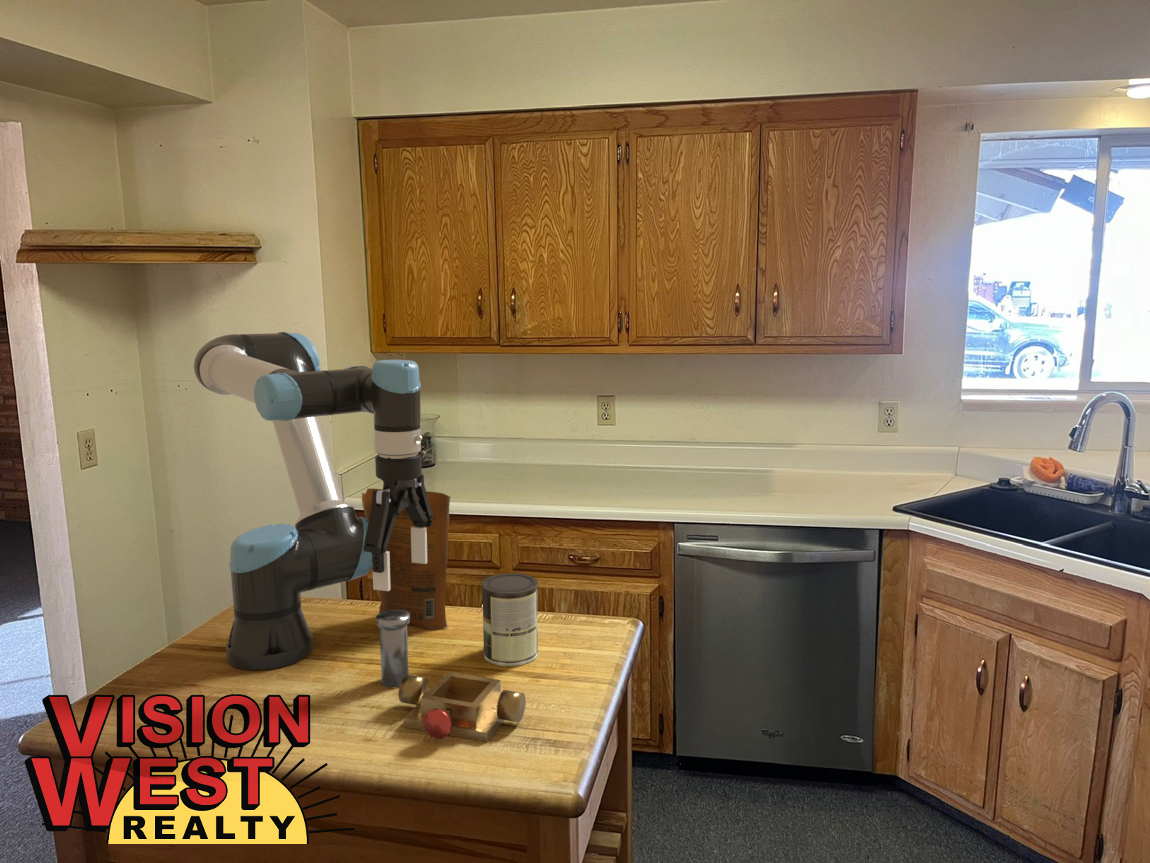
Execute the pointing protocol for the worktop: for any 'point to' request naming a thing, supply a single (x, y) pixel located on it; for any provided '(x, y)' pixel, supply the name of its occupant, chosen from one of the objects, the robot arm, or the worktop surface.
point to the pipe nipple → (393, 646)
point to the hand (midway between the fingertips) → (401, 575)
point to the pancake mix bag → (417, 566)
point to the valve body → (460, 706)
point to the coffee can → (510, 619)
